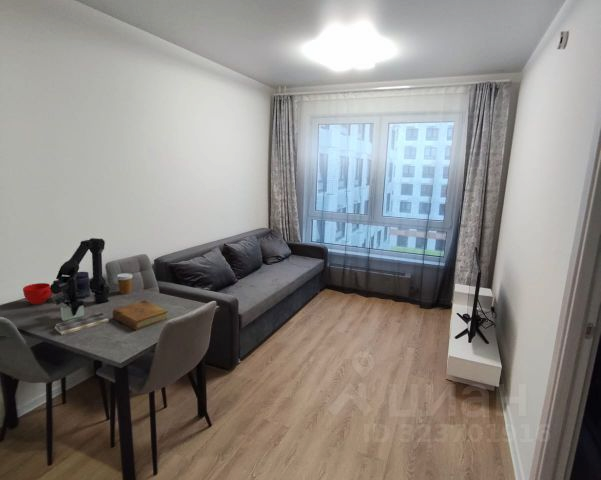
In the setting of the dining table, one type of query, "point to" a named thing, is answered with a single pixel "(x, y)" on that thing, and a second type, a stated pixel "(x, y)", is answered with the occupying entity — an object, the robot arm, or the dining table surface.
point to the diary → (140, 315)
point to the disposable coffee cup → (124, 282)
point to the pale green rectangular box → (67, 313)
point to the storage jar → (83, 285)
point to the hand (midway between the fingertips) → (72, 314)
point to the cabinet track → (81, 323)
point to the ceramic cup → (37, 293)
